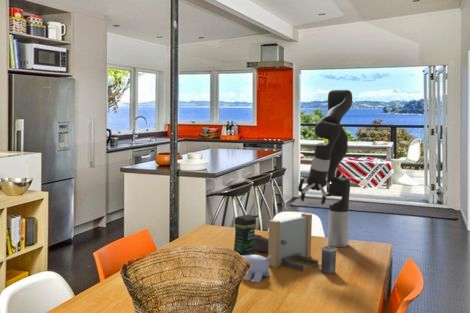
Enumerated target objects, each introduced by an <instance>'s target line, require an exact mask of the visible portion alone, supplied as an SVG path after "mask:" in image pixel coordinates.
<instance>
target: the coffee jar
mask: <svg viewBox="0 0 470 313" xmlns="http://www.w3.org/2000/svg"><path fill="white" fill-rule="evenodd" d="M256 219H257V217H256V216H255V215H252V214H245V215H244V214H243V215H240V216H236V217H234V229H235V232H234V233H235V234H234V244H233V252H234V251H236V252H238V253H239V254H240V255H242V256H246V255H256V250H255V234H256V233H255V229H256V227H257V226H256V225H257V221H256Z"/></svg>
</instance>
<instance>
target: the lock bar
mask: <svg viewBox="0 0 470 313" xmlns="http://www.w3.org/2000/svg"><path fill="white" fill-rule="evenodd" d="M320 250H321V263H320V264H321V266H320V268H321V270H320V272H321V273H322V274H327V275H329V276H330V275H332V274H335V273H336V266H337V265H336V264H337V250H338V247H333V246H330V245H326V246H323V247H321V248H320Z"/></svg>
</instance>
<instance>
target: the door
mask: <svg viewBox="0 0 470 313" xmlns="http://www.w3.org/2000/svg"><path fill="white" fill-rule="evenodd" d="M312 225H313V214H311V213H306V212H304V213H301V216H297V217H294V218H290V219H283V220H276V219H269V220H268V239H269V243H268V253H267V257H268V256H270V255H271V257H270V258H269V260H268V262H269V267H273V268H277V267H280V266H281V265H283V258H285V257H288V256H291V255H295V254H298V253H302V256H305V257H308V258H310V257H311V255H312V231H313V230H312V228H313V226H312Z"/></svg>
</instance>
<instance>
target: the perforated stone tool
mask: <svg viewBox="0 0 470 313" xmlns="http://www.w3.org/2000/svg"><path fill="white" fill-rule="evenodd" d="M268 243H269V238H267V237H265V236H262V235H260V234H256V233H255V251H258V252H262V253H266V254H268Z"/></svg>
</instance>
